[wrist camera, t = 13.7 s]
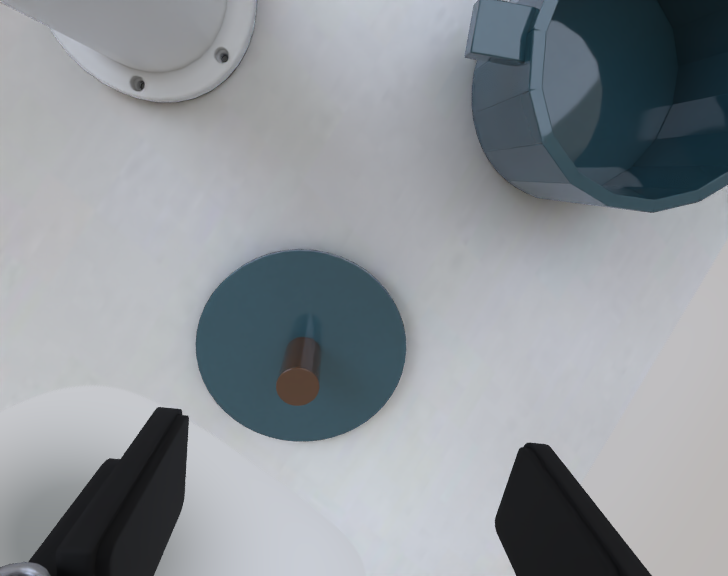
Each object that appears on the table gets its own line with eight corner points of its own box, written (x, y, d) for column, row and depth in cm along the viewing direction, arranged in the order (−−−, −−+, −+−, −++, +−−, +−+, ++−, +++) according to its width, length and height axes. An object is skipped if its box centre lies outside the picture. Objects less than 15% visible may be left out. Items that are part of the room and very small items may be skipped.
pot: (456, -68, 24) (518, -189, 16) (747, -7, 27) (930, -86, 18) (416, 181, 28) (450, 185, 20) (671, 216, 31) (794, 232, 22)
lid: (202, 235, 28) (167, 252, 22) (418, 260, 30) (439, 281, 24) (198, 426, 33) (169, 482, 27) (388, 438, 34) (399, 493, 28)
